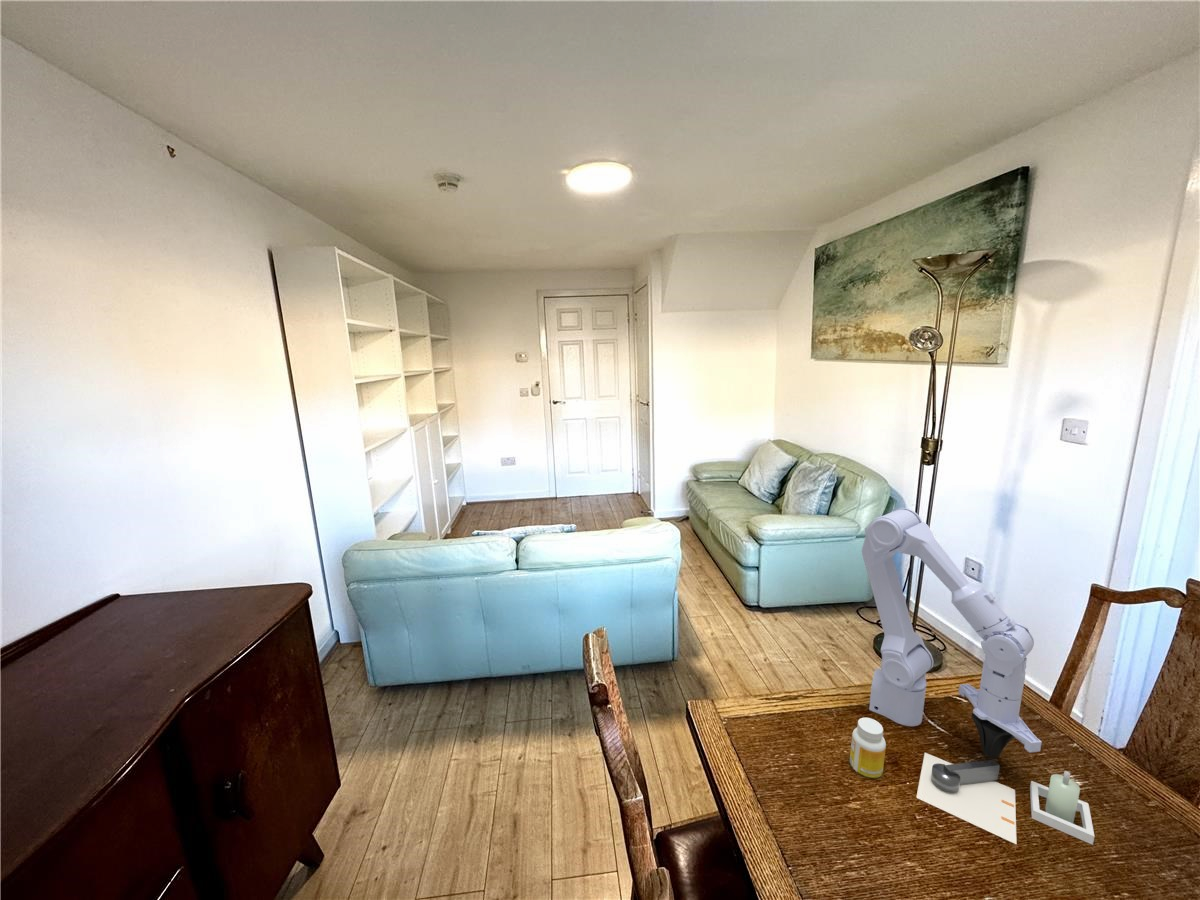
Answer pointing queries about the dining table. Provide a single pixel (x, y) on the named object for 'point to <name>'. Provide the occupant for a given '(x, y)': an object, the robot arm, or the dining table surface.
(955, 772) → the dial lever
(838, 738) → the dining table surface
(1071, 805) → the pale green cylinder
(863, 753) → the supplement bottle
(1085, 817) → the tool holder
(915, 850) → the dining table surface
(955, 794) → the dial panel
